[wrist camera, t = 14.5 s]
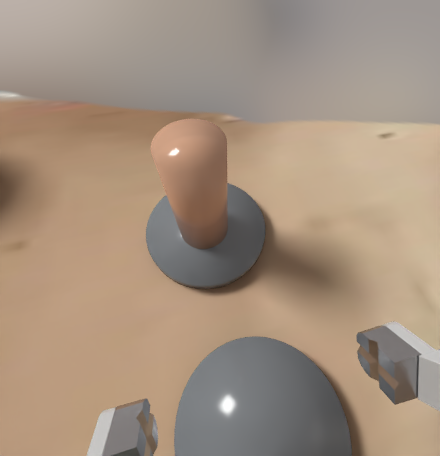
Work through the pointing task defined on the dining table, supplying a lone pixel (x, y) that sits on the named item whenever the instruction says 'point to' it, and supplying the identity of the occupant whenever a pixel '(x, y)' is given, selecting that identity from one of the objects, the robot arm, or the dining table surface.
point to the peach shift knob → (194, 178)
